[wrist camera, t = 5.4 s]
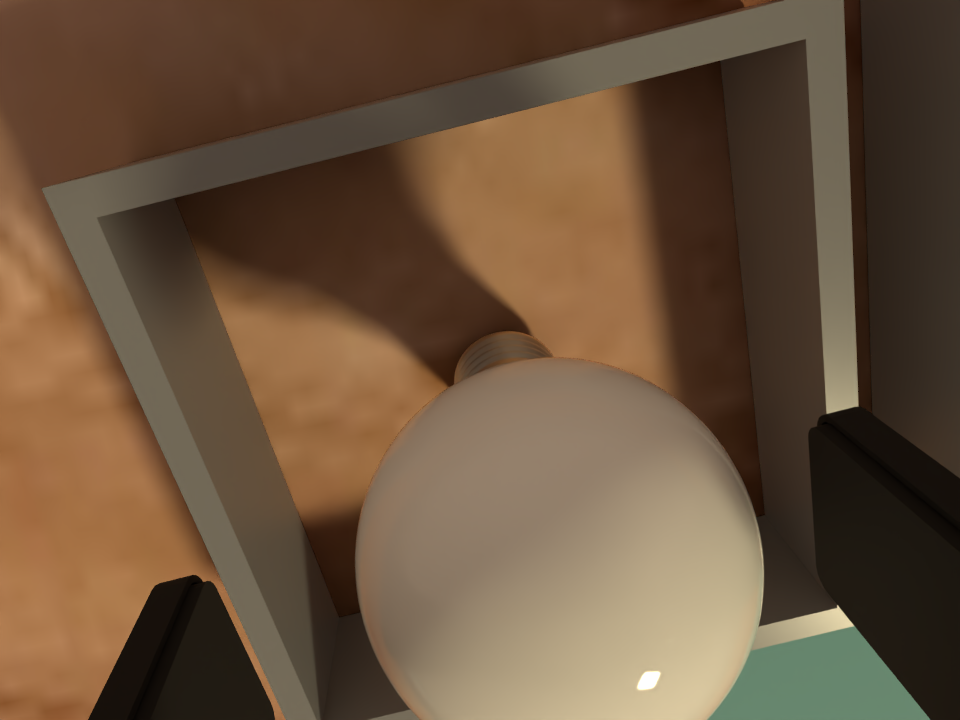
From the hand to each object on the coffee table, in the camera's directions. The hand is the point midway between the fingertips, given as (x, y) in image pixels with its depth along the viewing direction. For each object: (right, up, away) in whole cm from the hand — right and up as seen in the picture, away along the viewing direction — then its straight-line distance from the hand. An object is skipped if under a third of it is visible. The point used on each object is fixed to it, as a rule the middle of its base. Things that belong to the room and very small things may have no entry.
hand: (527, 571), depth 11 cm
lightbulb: (0, +3, +8) cm, 9 cm away
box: (0, +3, +8) cm, 8 cm away
